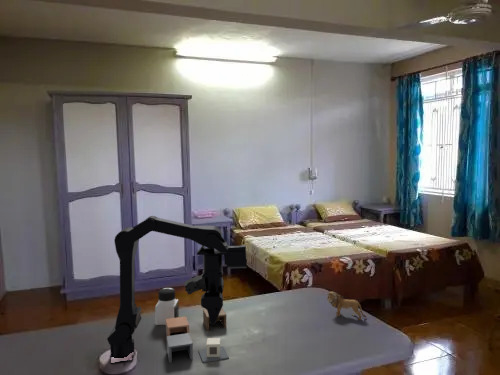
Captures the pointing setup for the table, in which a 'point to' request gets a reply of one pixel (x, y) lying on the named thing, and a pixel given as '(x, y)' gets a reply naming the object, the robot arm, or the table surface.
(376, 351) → the table surface
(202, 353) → the slate pad
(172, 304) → the medicine bottle
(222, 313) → the box
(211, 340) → the cream cube
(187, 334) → the grey box
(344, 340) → the table surface
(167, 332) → the terracotta block
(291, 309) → the table surface
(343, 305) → the lion figurine
